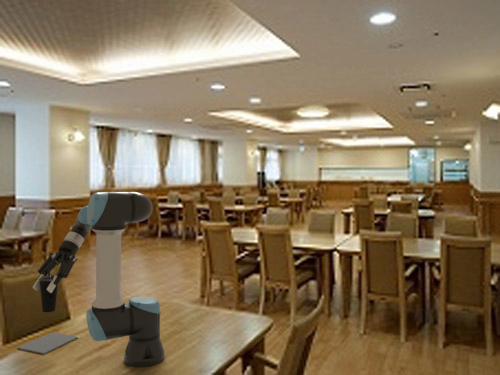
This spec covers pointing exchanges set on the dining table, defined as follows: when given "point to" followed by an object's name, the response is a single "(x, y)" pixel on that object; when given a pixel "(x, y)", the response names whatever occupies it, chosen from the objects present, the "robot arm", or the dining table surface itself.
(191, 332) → the dining table surface
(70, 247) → the robot arm
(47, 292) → the drinking cup
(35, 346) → the placemat
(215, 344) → the dining table surface
